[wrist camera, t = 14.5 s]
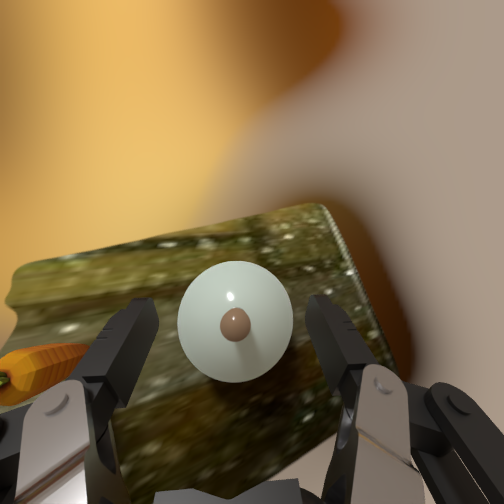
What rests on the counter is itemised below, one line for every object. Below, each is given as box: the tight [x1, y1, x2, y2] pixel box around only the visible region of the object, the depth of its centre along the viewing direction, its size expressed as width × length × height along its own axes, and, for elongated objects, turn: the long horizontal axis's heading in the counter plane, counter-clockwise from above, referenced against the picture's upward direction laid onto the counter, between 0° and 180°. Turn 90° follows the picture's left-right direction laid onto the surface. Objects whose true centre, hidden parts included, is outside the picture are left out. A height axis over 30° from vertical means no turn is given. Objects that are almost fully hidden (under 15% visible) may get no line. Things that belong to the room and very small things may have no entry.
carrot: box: [0, 343, 90, 406], centre depth 21 cm, size 5×5×15 cm
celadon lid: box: [178, 261, 293, 382], centre depth 20 cm, size 14×14×10 cm
